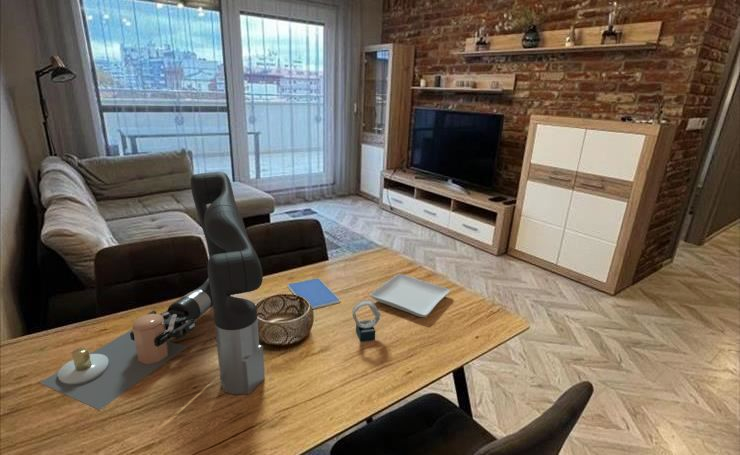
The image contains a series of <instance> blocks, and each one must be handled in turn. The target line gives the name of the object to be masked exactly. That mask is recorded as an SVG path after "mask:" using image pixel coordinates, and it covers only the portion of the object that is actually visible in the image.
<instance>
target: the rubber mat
mask: <svg viewBox="0 0 740 455" xmlns="http://www.w3.org/2000/svg"><path fill="white" fill-rule="evenodd" d="M132 331H133V328H132V329H130V330H128V331H126V332H125V333H123V334H122V335H120V336H118V337H116V338H115V339H113V340H111V341H109V342H108V343H106V344H104V345H102V346H101V347H99V348H97V349H95V350H94V351H92V352H89V354H102V355H105V356H106V357H107V358H108V361H109V366H108V368H107V370H106V371H105V372H104V373H103V374H101V375H100V376H98V377H97V378H95V379H93V380H91V381H88V382H85V383H81V384H76V385H66V384H63V383H61V382H60V381H59V378H58V372H59V371H57V372H55V373H54V374H51V376H48V377H47V378H45V379H43V380H41V381H40V382H39V384H41V385H43V386H45V387H47V388H49V389H51V390H54V391H56V392H58V393H60V394H62V395H65V396H67V397H70V398H72V399H74V400H76V401H78V402H80V403H83V404H84V405H87V406H89V407H92V408H94V409H96V410H98V411H100V410H101V409H103V408H104V407H106V406H108V405H109V404H110V403H111V402H113V401H114V400H116V399H117V398H118V397H119V396H121V395H123V394H124V393H126V392H127V391H128V390H130V389H131V388H132V387H134V386H135V385H136V384H138V383H140V382H141V381H142V380H144V379H145V378H146V377H147V376H149V375H151V374H152V373H153V372H155V371H156V370H157V369H159V368H160V367H161V366H163V365H164V364H166V363H167V362H169V361H170V360H172V359H173V358H174V357H176V355H179V353H181V352H183V351H184V350H185V349H186V348H187V349H188V347H187V346H184V345H182V344H179V343H176V342H173V341H170V340H168V341H167V344H168V356H166V357H165V358H164V359H162V360H161V361H159V362H155V363H150V364H145V363H142V362H139V360H138V355H137V350H136V344H135V340H131V337H130V333H131V332H132Z"/></svg>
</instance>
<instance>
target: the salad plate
mask: <svg viewBox="0 0 740 455" xmlns="http://www.w3.org/2000/svg"><path fill="white" fill-rule="evenodd" d="M450 293H451V289H450V288H446V287H444V286H442V285H441V286H440V285H437V284H434V283H431V282H429V281H425V280H421V279H418V278H415V277H412V276H408V275H405V274H402V273H398V274H396V275H394V276H393V277H392V278H390V279H388V281H386V282H384V283H383V284H382V285H380V286H379V287H378V288H376V289H375V290H374V291H372V292H371V293H369V296H370V298H372V299H373V300H375V301H376V302H378V303H381V304H384V305H387V306H389V307H391V308H395V309H397V310H401V311H403V312H406V313H409V314H412V315H413V316H417V317H420V318H425V317H427V316H428V315H429V314H430V313H432V311H433V310H434V308H435V307H437V305H438V304H439V303H440V302H441V301H442V300H443V299H444V298H446V296H447V295H448V294H450Z"/></svg>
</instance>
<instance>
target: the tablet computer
mask: <svg viewBox="0 0 740 455" xmlns="http://www.w3.org/2000/svg"><path fill="white" fill-rule="evenodd" d="M286 287H287V288H288V290H289V291H290V292H291V294H293V296H294V295H297V296H301V297H303V298H305V299H306V300H307V301H308V302H309V304H310V305H311V307H312V308H313V310H315V309H320V308H324V307H328V306H332V305H336V304H340V303H341V300H340V298H339V297H338V296H337V295H336V294H335V293H334V292H333V291H332V290H331V289H330V288H329V287H328V286H327V285H326V284H325V283H324V282H323V280H321V279H320V278H318V277H315V278H312V279H308V280H303V281H297V282H292V283H288V284H287V285H286Z"/></svg>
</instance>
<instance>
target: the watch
mask: <svg viewBox="0 0 740 455" xmlns="http://www.w3.org/2000/svg"><path fill="white" fill-rule="evenodd" d="M365 306H368V307H369V308H370V310H371V312H372V314H373V316H375V317H373V319H372V320H362V321H360V320H359V319H358V318H357V315H356V314H357V311H358V310H359V309H361V308H362V307H365ZM352 317H353V320H354V322H355V333H356V335H357V337H358V339H359V342H360V343H362V342H363V343H364V342H365V343H366V342H372V341H376V328H375V327H374V326H376V325H377V324H378V323H379V321H380V319H381V313H380V311H379V309H378V307H377V306H376V304H375V303H374V302H373V301H372V300H371V301H370V300H369V299H368V300H367V299H366V300H361V301H359V302H358V303H356V304H355V305H354V307H353V308H352Z"/></svg>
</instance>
